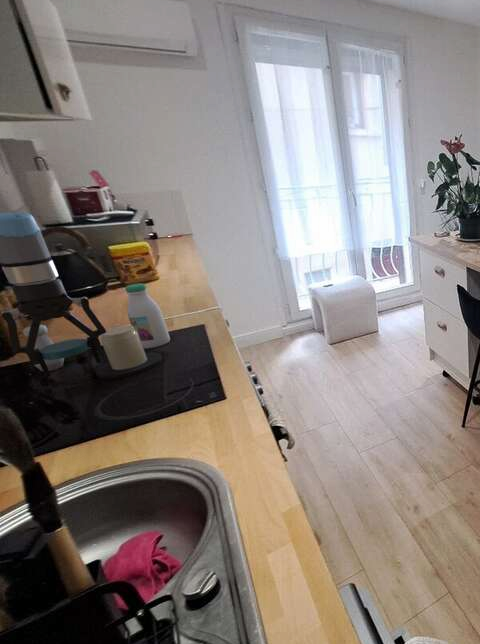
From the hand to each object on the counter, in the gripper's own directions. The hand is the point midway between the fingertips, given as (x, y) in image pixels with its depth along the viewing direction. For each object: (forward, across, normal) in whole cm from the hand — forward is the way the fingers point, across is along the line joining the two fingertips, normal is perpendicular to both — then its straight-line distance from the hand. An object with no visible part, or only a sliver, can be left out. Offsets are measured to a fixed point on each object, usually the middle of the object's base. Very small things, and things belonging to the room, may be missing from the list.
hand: (74, 367), depth 102 cm
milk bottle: (+8, -18, -24) cm, 31 cm away
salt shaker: (+8, +4, -26) cm, 28 cm away
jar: (+7, -10, -11) cm, 16 cm away
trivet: (+8, -10, -11) cm, 17 cm away
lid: (-6, 0, 0) cm, 6 cm away
